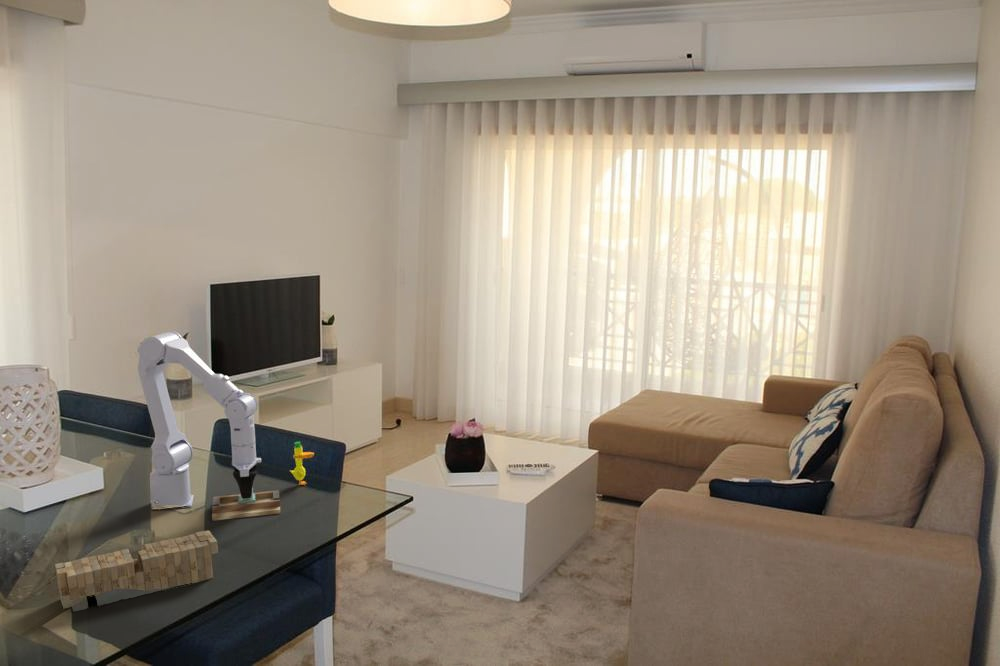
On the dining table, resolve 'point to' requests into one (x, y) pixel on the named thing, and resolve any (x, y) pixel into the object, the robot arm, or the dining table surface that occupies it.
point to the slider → (247, 500)
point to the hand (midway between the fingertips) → (246, 495)
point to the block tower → (140, 567)
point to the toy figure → (300, 462)
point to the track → (245, 506)
